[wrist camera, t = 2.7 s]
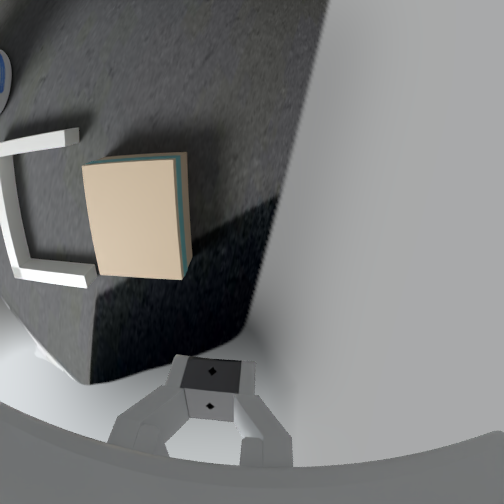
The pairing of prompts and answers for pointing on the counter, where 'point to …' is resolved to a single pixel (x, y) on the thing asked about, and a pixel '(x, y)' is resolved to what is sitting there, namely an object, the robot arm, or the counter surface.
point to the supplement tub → (4, 79)
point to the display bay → (8, 214)
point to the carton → (140, 214)
